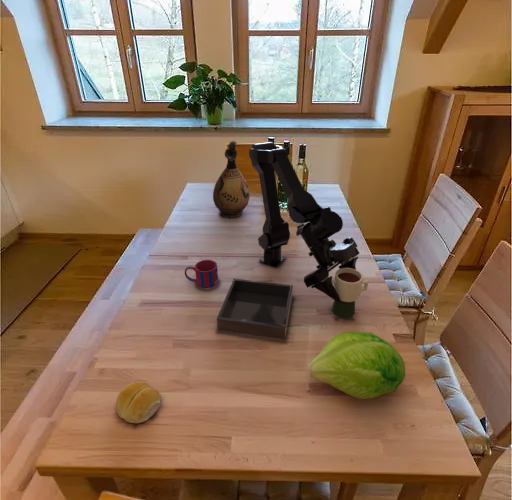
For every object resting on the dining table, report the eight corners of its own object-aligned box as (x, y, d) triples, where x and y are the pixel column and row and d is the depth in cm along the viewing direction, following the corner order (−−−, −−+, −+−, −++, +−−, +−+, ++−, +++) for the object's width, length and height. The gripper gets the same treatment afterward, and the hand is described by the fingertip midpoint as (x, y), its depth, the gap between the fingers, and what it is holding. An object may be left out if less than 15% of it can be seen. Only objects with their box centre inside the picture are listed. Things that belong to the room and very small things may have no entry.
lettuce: (303, 356, 85) (307, 313, 78) (386, 356, 85) (398, 313, 78) (311, 414, 72) (317, 370, 65) (410, 415, 72) (427, 370, 65)
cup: (216, 291, 107) (214, 272, 103) (183, 289, 108) (181, 270, 104) (220, 278, 113) (219, 260, 109) (189, 276, 114) (187, 258, 110)
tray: (234, 291, 107) (233, 278, 104) (292, 298, 104) (293, 285, 102) (217, 332, 92) (216, 318, 90) (284, 341, 89) (285, 327, 87)
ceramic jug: (249, 221, 147) (248, 148, 131) (212, 220, 147) (206, 148, 131) (250, 204, 161) (249, 137, 146) (216, 204, 162) (212, 137, 146)
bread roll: (139, 381, 79) (135, 369, 77) (167, 401, 75) (165, 388, 73) (107, 409, 73) (103, 397, 71) (137, 432, 69) (133, 420, 67)
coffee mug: (358, 304, 102) (365, 267, 95) (365, 321, 96) (374, 283, 89) (320, 305, 101) (325, 267, 95) (325, 322, 95) (331, 283, 89)
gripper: (317, 245, 83) (351, 302, 82) (358, 219, 94) (389, 269, 93) (289, 260, 92) (320, 312, 91) (330, 235, 103) (358, 281, 102)
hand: (348, 293), depth 94 cm, fingers open, 9 cm apart
